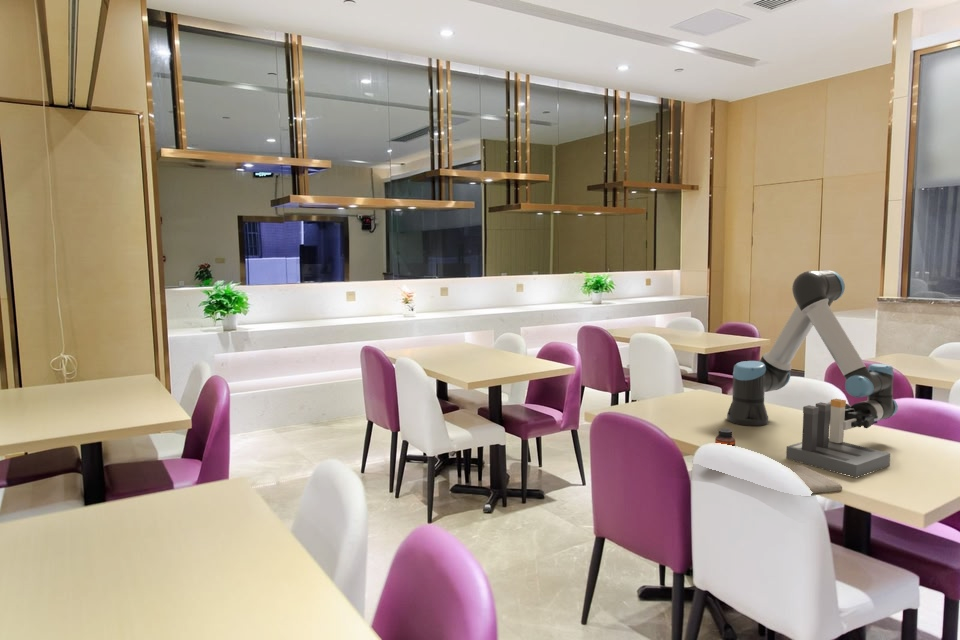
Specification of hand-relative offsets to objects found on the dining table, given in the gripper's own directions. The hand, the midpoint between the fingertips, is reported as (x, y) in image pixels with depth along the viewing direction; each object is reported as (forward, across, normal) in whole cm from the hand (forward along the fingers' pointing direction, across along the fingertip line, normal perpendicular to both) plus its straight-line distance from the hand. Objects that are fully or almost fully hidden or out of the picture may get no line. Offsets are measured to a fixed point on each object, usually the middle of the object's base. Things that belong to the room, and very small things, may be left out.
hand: (829, 422), depth 206 cm
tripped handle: (-5, 0, -8) cm, 9 cm away
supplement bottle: (+35, +14, -12) cm, 39 cm away
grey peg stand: (+3, -4, -12) cm, 13 cm away
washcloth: (+28, -8, -12) cm, 32 cm away
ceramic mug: (-46, +23, -12) cm, 53 cm away
